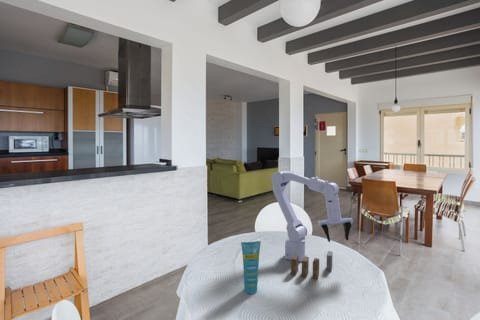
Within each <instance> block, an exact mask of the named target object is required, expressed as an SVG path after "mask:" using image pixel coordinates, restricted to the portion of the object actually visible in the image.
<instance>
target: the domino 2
mask: <svg viewBox="0 0 480 320" xmlns="http://www.w3.org/2000/svg"><path fill="white" fill-rule="evenodd" d="M309 259H310V257H309V256H308V255H307V256H304V257H303V259H302V262H301V278H306V279H307V278H308V275H309V266H310V265H309Z"/></svg>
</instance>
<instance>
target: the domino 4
mask: <svg viewBox="0 0 480 320" xmlns="http://www.w3.org/2000/svg"><path fill="white" fill-rule="evenodd" d="M333 256H334V255H333V251H330V250H328V251H327V254H326V271H327V272H332V269H333Z"/></svg>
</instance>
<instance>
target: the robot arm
mask: <svg viewBox="0 0 480 320" xmlns="http://www.w3.org/2000/svg"><path fill="white" fill-rule="evenodd" d="M270 180H271V184H272V193H273V194H274V196H275V199H276V201H277V203H278V205H279V208H280V210H281V212H282V214H283V216H284V219H285V221H286V223H287V224H286V228H285V229H286V231H287V237H288V238H286V240H285V244H284V259H285V260H289V261H291V258H292V257H293V255H294V254H295V255H298V263H299V262H300V263H302V259H303V257H304V256H307V257H308V254H306V236H308V229H307V227H306V226H305V225H304V224H303V222H302V221H301V220H300V219H299V218H298V217H297V215H296V213H295V210H294V208H293V206H292V204H291V201H290V200H289V198H288V196H287V195H288V194H287V193H286V192H285V189H286V187H287V186H288V184H289V183H290V182H291V181H293V182H296V183H299V184H303V185H306V186H307V187H308V189H309V190H312V191H315V192H318V193H321V194H322V195H323V196H324V199H325V207H326V214H327V219H322V220H318V221H317V225H318V226H319V227H321V228H322V230H323V232H324V233H325V236H326V239H327V242H328V243H331V239H330V234H329V232H330V231H329V226H330V225H339V224H341V225H343V230H344V239H345V240H346V241H349V234H350V231H351V228H352V224H353V223H354V220H353V218H352V217H342V212H341V205H340V198H339V192H340V187H339V185H338V184H337V183H335V182H334V181H331V182H329V180H323V179H320V178H319V176H312V177H310V178H308V177H306V176H303V175H301V174H298V173H297V172H296V173H295V172H294V171H290V170H286V169H285V170H281V171H275V172H274V173H272V175H271V178H270Z"/></svg>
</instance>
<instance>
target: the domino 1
mask: <svg viewBox="0 0 480 320" xmlns="http://www.w3.org/2000/svg"><path fill="white" fill-rule="evenodd" d="M298 272H299V261H298V255H295V254H294V255H293V257H292V258H291V260H290V275H292V276H297V274H298Z"/></svg>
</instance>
